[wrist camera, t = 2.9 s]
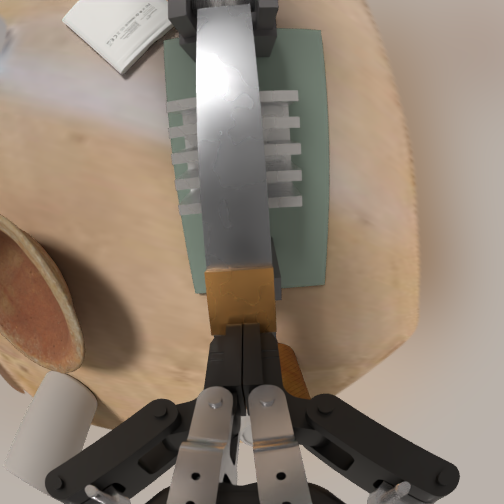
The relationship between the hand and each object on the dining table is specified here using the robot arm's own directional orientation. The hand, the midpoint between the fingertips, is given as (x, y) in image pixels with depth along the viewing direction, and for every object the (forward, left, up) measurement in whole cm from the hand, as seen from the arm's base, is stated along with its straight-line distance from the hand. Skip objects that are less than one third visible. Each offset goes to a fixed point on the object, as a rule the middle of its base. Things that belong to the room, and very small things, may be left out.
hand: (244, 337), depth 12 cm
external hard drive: (-23, -11, -17) cm, 31 cm away
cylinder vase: (+32, -38, -16) cm, 52 cm away
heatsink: (-7, 0, -16) cm, 18 cm away
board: (-5, +1, -16) cm, 17 cm away
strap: (-8, 0, -5) cm, 9 cm away
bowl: (+5, -29, -16) cm, 33 cm away
